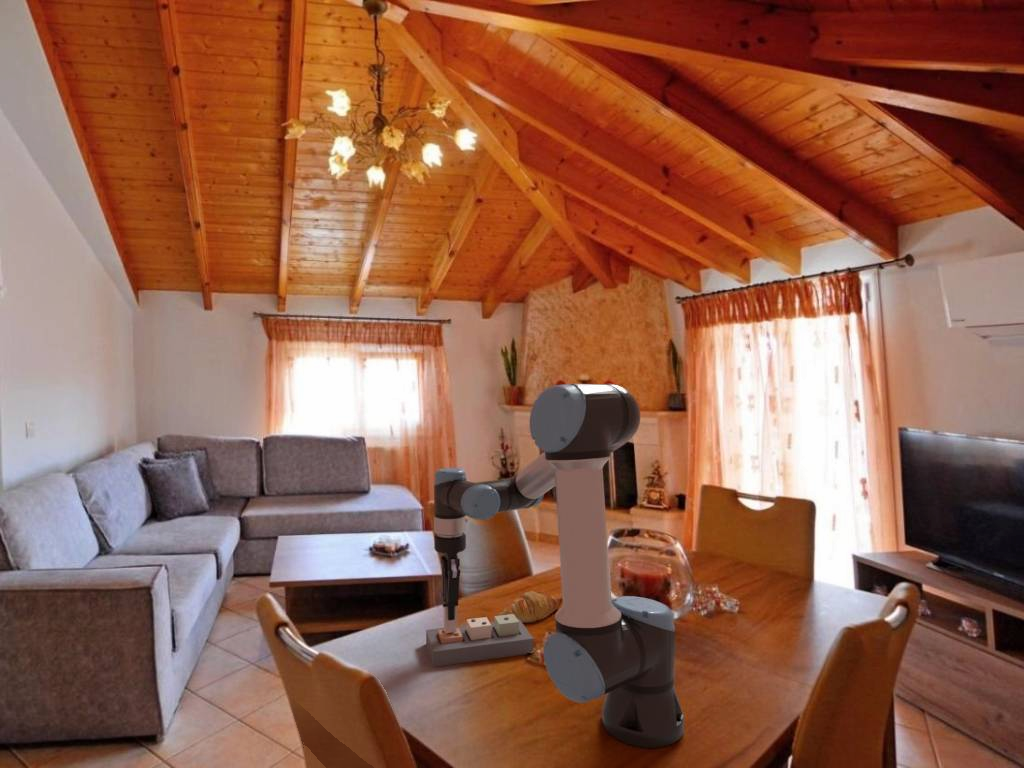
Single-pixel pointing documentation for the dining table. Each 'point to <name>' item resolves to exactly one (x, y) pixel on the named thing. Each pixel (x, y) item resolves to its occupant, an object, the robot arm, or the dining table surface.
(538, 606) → the croissant
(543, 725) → the dining table surface
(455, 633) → the button three
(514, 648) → the console
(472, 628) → the button two
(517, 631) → the button one
